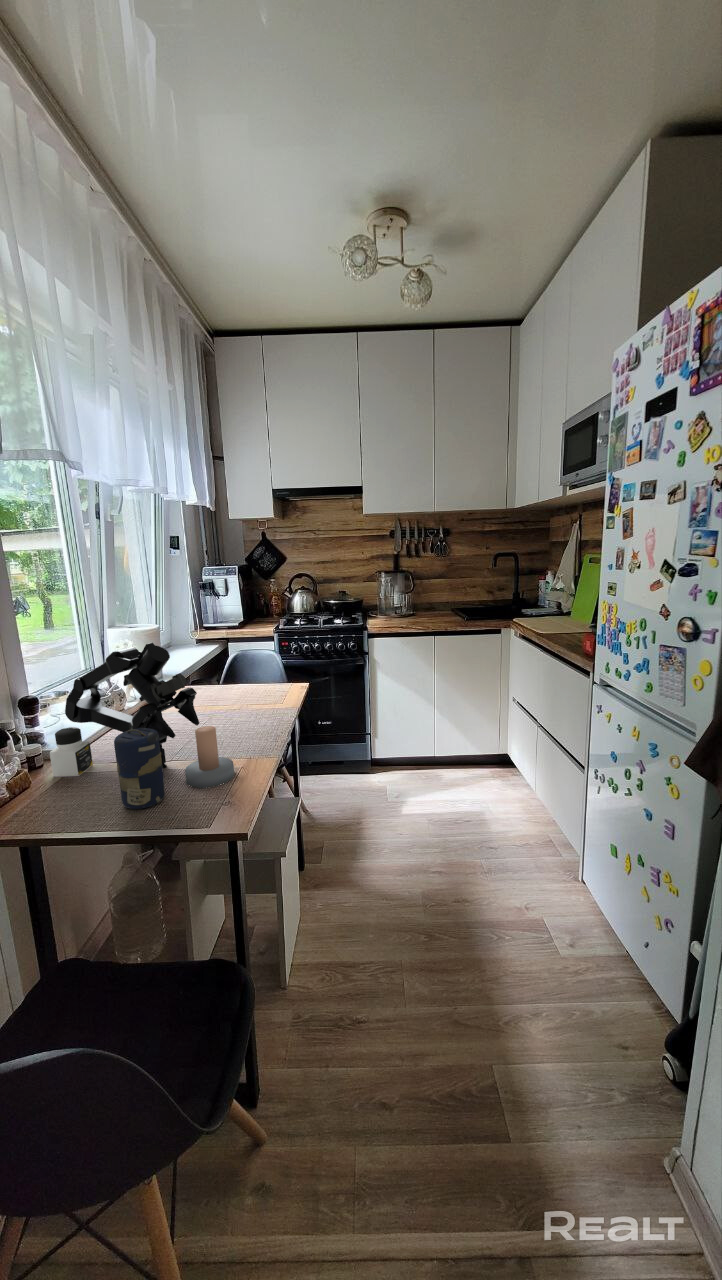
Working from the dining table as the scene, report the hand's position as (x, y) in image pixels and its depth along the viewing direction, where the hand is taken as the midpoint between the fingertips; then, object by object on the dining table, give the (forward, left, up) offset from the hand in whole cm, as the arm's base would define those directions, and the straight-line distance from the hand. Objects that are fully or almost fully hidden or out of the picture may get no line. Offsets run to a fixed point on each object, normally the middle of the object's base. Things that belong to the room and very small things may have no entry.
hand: (186, 730), depth 132 cm
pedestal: (+2, -6, -12) cm, 14 cm away
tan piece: (+2, -6, -9) cm, 11 cm away
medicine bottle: (-21, +27, -12) cm, 36 cm away
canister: (-15, -6, -12) cm, 20 cm away
